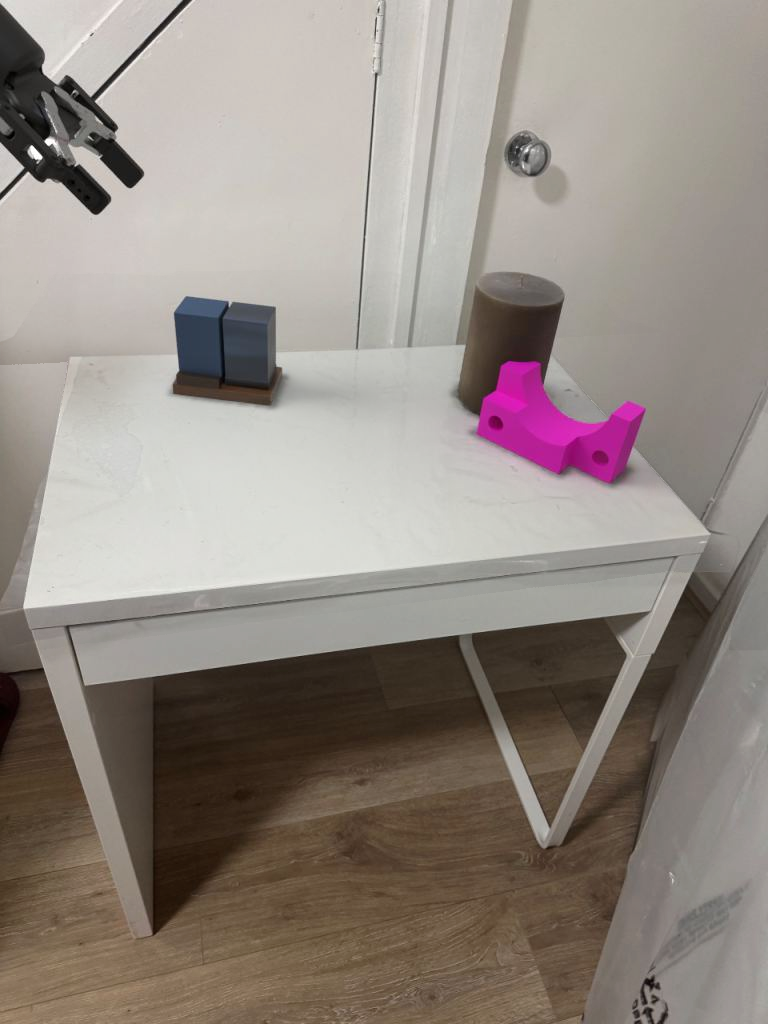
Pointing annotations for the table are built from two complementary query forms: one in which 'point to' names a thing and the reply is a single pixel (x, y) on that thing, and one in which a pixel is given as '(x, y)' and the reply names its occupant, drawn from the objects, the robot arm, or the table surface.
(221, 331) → the blue rectangular block
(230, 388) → the stand
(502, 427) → the magenta pipe saddle clamp
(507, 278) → the pillar candle
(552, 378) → the table surface
